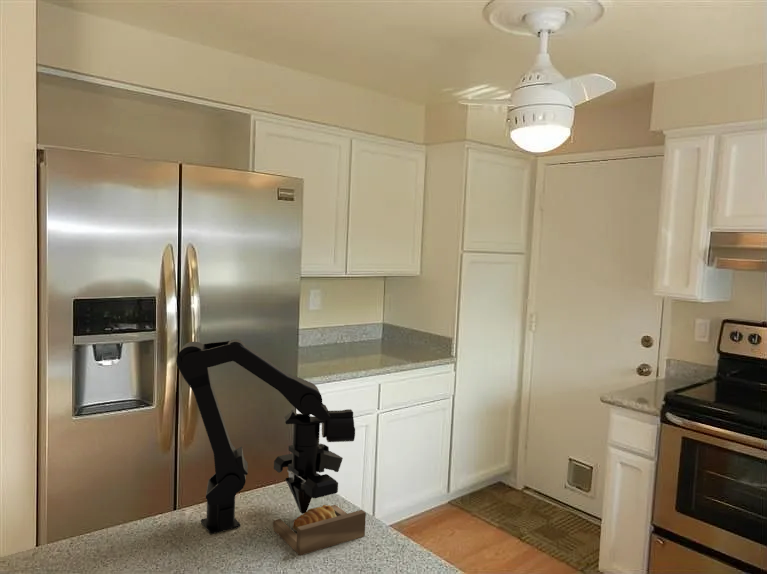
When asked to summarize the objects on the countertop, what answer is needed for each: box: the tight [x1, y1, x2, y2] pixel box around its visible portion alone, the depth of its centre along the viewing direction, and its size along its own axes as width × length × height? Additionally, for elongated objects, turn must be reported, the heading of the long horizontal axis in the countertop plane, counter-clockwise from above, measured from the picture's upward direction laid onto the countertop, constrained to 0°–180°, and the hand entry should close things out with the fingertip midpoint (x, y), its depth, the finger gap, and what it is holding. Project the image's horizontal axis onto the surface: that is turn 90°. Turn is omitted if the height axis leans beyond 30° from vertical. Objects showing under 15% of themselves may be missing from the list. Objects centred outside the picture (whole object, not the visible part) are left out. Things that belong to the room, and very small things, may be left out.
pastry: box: [292, 504, 337, 532], centre depth 124 cm, size 9×7×4 cm
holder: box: [272, 504, 367, 556], centre depth 121 cm, size 12×15×5 cm
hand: (303, 512), depth 127 cm, fingers closed
